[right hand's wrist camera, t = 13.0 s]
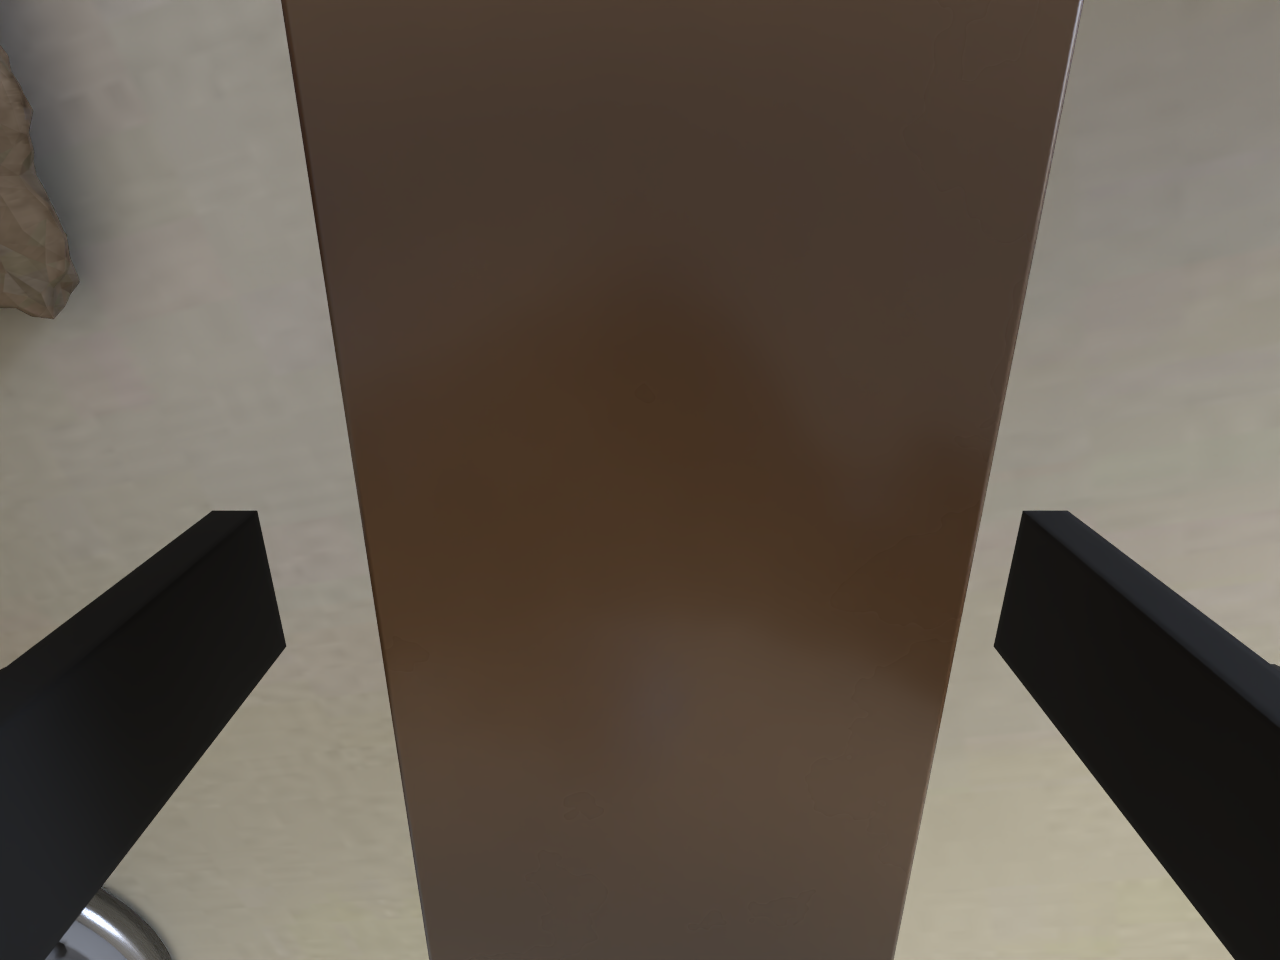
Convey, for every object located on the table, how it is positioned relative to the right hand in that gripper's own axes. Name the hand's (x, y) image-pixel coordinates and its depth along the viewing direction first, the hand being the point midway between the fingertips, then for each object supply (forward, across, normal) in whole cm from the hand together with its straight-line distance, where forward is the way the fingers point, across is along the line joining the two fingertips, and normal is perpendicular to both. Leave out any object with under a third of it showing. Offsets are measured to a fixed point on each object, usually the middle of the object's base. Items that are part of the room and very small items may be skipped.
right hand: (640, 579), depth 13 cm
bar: (+3, 0, -10) cm, 11 cm away
